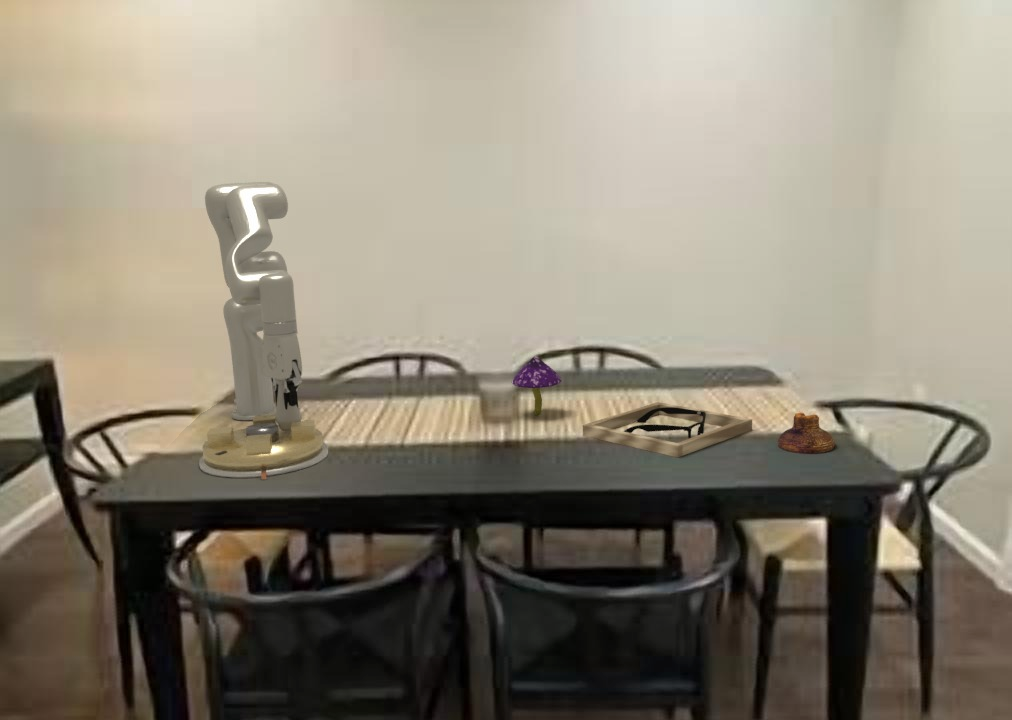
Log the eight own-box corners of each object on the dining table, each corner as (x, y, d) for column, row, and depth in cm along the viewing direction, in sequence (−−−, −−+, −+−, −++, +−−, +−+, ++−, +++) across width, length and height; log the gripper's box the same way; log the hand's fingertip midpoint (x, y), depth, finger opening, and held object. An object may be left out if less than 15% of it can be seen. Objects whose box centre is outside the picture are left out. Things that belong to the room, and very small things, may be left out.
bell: (766, 444, 219) (766, 411, 217) (812, 436, 223) (812, 404, 221) (799, 458, 208) (800, 423, 207) (847, 449, 212) (848, 416, 211)
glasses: (693, 450, 219) (693, 428, 218) (615, 441, 227) (616, 419, 226) (711, 431, 234) (712, 410, 233) (638, 422, 241) (638, 402, 240)
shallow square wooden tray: (582, 435, 231) (582, 425, 231) (658, 411, 249) (657, 402, 248) (678, 457, 211) (677, 446, 211) (752, 429, 229) (752, 419, 229)
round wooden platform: (195, 475, 210) (192, 448, 209) (211, 442, 235) (209, 417, 234) (322, 464, 214) (319, 437, 213) (324, 433, 239) (322, 408, 238)
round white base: (177, 461, 226) (177, 456, 225) (287, 434, 244) (286, 429, 244) (238, 486, 205) (237, 481, 205) (352, 455, 224) (352, 450, 223)
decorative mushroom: (502, 416, 252) (500, 357, 249) (540, 406, 260) (537, 349, 257) (535, 424, 242) (533, 363, 239) (573, 414, 250) (571, 355, 247)
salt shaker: (297, 431, 229) (291, 375, 226) (273, 431, 230) (267, 376, 227) (305, 424, 234) (300, 370, 232) (282, 425, 235) (276, 370, 233)
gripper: (247, 327, 231) (254, 405, 235) (284, 334, 219) (291, 416, 223) (276, 323, 236) (283, 399, 240) (313, 329, 224) (320, 409, 228)
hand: (287, 406), depth 231 cm, fingers closed on salt shaker, 3 cm apart
